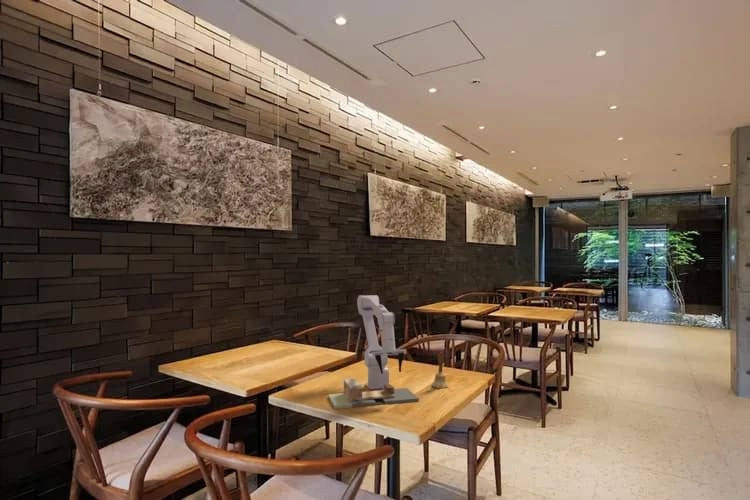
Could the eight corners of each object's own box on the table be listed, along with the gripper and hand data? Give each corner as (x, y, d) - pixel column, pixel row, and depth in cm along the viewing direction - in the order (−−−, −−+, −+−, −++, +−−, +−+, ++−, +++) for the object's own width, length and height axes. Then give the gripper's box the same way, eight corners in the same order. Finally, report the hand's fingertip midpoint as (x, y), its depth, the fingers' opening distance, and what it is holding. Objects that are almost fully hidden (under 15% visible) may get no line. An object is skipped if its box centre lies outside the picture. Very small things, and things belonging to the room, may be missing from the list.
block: (356, 393, 180) (356, 384, 180) (359, 396, 175) (359, 387, 175) (346, 394, 178) (346, 384, 178) (348, 397, 174) (348, 388, 174)
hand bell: (450, 384, 202) (450, 351, 202) (447, 389, 194) (447, 354, 195) (432, 382, 205) (433, 349, 205) (429, 387, 197) (430, 353, 197)
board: (406, 390, 192) (406, 388, 192) (418, 401, 178) (418, 398, 178) (328, 397, 181) (328, 394, 181) (334, 408, 168) (334, 405, 168)
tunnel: (354, 392, 183) (355, 378, 183) (362, 402, 172) (362, 387, 172) (343, 393, 182) (343, 379, 182) (350, 403, 170) (350, 388, 170)
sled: (389, 391, 185) (389, 383, 185) (394, 396, 179) (395, 388, 179) (344, 395, 180) (345, 386, 180) (348, 400, 173) (348, 392, 173)
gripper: (371, 340, 179) (373, 374, 175) (405, 338, 179) (408, 371, 176) (371, 342, 186) (373, 374, 182) (404, 339, 186) (407, 371, 182)
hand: (391, 372), depth 179 cm, fingers open, 7 cm apart
